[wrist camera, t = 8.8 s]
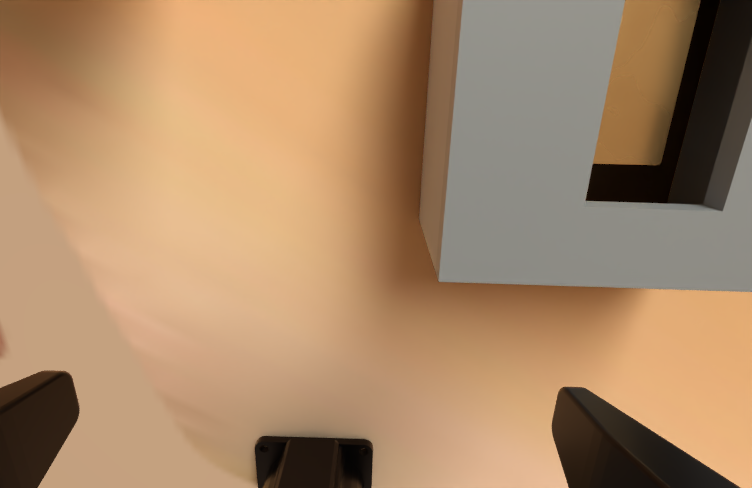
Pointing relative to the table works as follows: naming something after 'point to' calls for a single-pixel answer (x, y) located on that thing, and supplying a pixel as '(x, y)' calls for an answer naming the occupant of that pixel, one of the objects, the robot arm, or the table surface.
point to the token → (645, 80)
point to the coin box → (576, 154)
